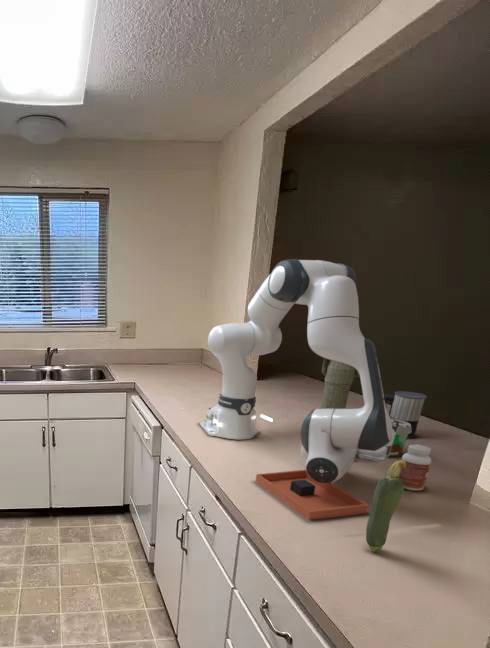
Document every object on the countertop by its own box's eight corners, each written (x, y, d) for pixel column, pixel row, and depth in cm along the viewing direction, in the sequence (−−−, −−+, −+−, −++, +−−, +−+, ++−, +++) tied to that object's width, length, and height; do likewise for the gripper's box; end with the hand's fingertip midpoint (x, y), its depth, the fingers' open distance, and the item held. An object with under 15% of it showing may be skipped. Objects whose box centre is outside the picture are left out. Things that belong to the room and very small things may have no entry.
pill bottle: (427, 492, 112) (439, 452, 108) (400, 489, 113) (410, 450, 110) (418, 483, 117) (429, 444, 113) (392, 480, 119) (401, 442, 115)
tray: (255, 482, 118) (256, 474, 117) (305, 477, 121) (306, 469, 120) (308, 521, 98) (310, 511, 97) (366, 514, 101) (368, 505, 100)
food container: (412, 460, 133) (421, 429, 129) (390, 458, 134) (398, 428, 130) (394, 446, 144) (401, 417, 140) (373, 445, 145) (380, 416, 142)
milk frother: (415, 433, 157) (425, 393, 152) (418, 445, 144) (430, 402, 139) (369, 426, 164) (377, 388, 159) (368, 438, 152) (377, 397, 147)
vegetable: (356, 543, 90) (378, 453, 83) (376, 542, 90) (399, 452, 83) (371, 555, 86) (395, 462, 79) (392, 554, 86) (417, 461, 79)
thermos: (309, 423, 168) (326, 331, 156) (344, 426, 164) (363, 332, 152) (312, 430, 160) (330, 333, 148) (349, 433, 157) (370, 334, 145)
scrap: (289, 489, 113) (291, 480, 112) (303, 488, 113) (304, 479, 113) (299, 496, 109) (301, 487, 108) (313, 494, 110) (315, 485, 109)
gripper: (386, 450, 107) (393, 436, 117) (298, 433, 120) (312, 422, 130) (380, 473, 110) (388, 458, 120) (294, 455, 122) (308, 442, 132)
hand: (348, 439), depth 125 cm, fingers open, 8 cm apart
